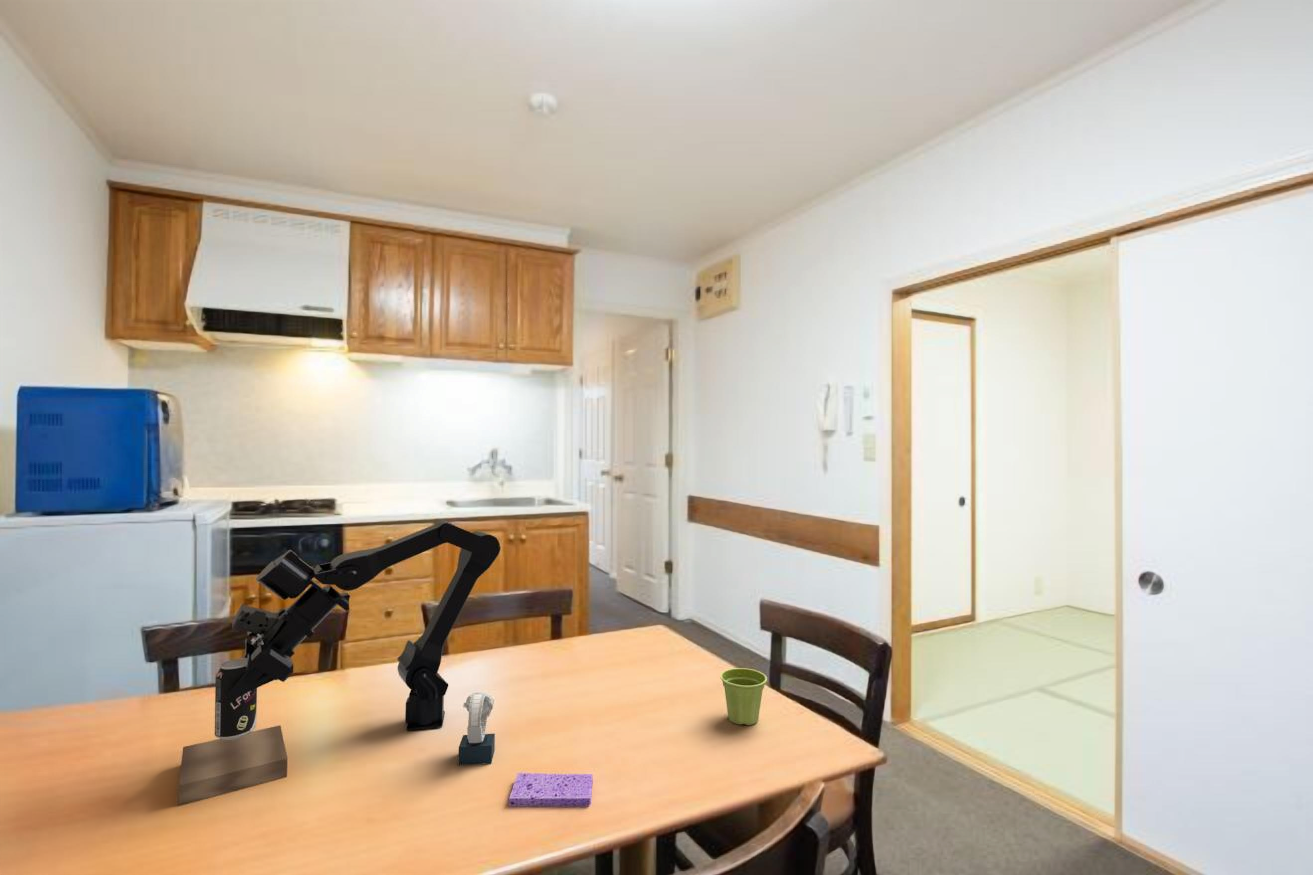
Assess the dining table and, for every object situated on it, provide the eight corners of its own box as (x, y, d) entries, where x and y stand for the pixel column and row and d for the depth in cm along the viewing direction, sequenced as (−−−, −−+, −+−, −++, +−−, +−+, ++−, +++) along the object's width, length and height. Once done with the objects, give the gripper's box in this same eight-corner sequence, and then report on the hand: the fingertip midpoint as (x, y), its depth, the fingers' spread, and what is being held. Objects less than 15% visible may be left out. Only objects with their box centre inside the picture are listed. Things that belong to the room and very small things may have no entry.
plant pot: (745, 734, 115) (746, 689, 115) (710, 717, 122) (711, 674, 122) (775, 720, 121) (776, 677, 121) (740, 704, 128) (741, 664, 128)
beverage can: (263, 725, 103) (264, 655, 103) (245, 741, 97) (246, 667, 97) (226, 727, 102) (227, 656, 102) (206, 743, 96) (207, 669, 96)
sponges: (517, 783, 98) (517, 772, 98) (594, 783, 98) (594, 771, 98) (508, 810, 91) (508, 797, 91) (590, 809, 91) (590, 797, 91)
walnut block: (280, 741, 109) (280, 725, 109) (286, 776, 98) (287, 758, 98) (182, 764, 101) (183, 746, 101) (178, 805, 90) (178, 785, 90)
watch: (495, 745, 109) (497, 685, 109) (489, 768, 101) (491, 704, 101) (464, 746, 108) (465, 686, 109) (455, 770, 101) (457, 705, 101)
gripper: (262, 577, 110) (185, 649, 103) (270, 599, 94) (180, 685, 88) (311, 613, 114) (240, 684, 108) (325, 639, 99) (244, 724, 93)
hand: (226, 693), depth 99 cm, fingers closed on beverage can, 5 cm apart
